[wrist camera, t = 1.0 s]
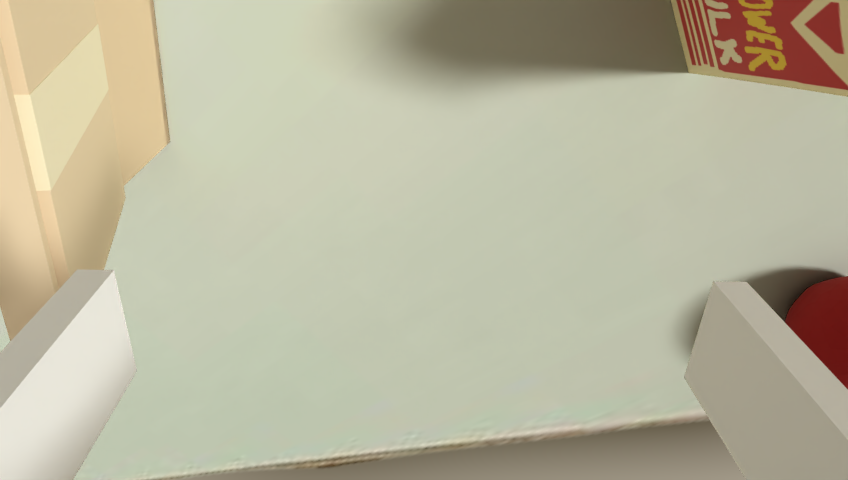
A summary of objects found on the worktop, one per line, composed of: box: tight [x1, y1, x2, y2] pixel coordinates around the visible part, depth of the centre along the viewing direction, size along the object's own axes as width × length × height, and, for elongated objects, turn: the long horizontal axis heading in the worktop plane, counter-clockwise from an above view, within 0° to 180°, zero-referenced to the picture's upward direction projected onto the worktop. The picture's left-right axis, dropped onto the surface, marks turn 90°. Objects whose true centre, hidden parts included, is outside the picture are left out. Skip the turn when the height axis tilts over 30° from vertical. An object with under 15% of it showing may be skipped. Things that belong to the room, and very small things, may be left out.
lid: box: [0, 0, 125, 341], centre depth 23 cm, size 14×13×2 cm
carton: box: [94, 0, 170, 186], centre depth 32 cm, size 14×12×8 cm
